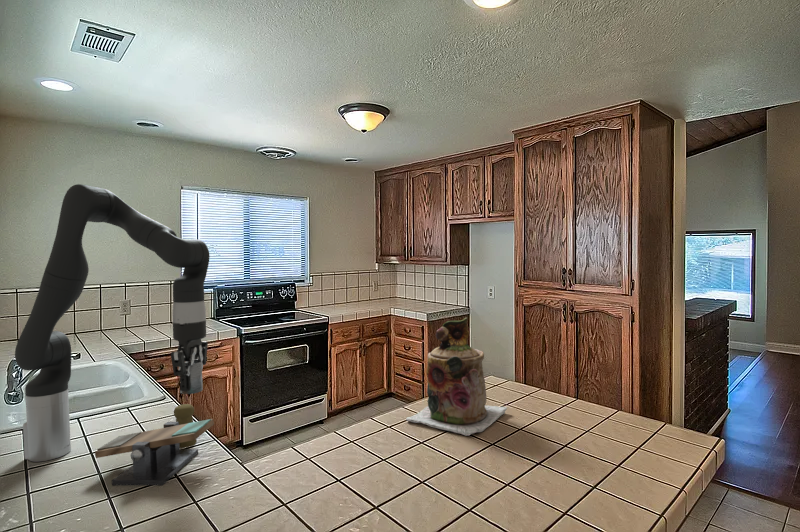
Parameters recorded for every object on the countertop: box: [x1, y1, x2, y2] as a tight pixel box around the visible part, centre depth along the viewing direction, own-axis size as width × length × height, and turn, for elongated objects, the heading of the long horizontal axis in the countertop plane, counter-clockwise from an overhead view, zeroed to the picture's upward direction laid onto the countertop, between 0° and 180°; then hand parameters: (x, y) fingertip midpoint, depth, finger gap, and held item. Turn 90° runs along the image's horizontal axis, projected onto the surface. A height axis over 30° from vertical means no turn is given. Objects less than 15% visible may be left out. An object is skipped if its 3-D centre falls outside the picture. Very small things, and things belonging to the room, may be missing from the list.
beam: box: [94, 418, 215, 459], centre depth 115 cm, size 25×10×2 cm, turn 87°
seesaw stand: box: [111, 421, 199, 486], centre depth 115 cm, size 12×17×9 cm
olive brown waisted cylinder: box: [173, 403, 198, 449], centre depth 130 cm, size 6×6×11 cm
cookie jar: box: [406, 317, 508, 437], centre depth 145 cm, size 25×25×32 cm
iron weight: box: [180, 361, 204, 395], centre depth 114 cm, size 5×5×7 cm
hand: (191, 387), depth 114 cm, fingers closed on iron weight, 5 cm apart
